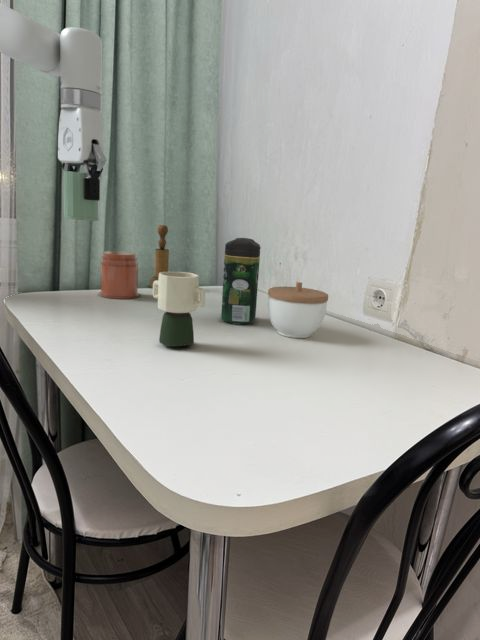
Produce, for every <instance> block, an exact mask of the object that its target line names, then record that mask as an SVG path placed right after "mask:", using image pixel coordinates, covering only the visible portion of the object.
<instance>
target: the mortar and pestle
mask: <svg viewBox="0 0 480 640" xmlns="http://www.w3.org/2000/svg"><path fill="white" fill-rule="evenodd" d="M156 231H157V234H158V237H159V240H158V241H157V242H158V248H155V249H154V276H152V277H151V278H150V279H149V287H150V288H151V289H153V282H154V281H156V280H157V281H158V280H159V273H161V272H169V260H170V259H169V258H170V257H169V256H170V255H169V254H170V249H168V248H166V244H167V240H166V236H167V234H168V232H169V228H168V226H167V225H166V224H159V225H158V226H157V230H156Z"/></svg>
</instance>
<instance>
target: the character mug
mask: <svg viewBox="0 0 480 640" xmlns="http://www.w3.org/2000/svg"><path fill="white" fill-rule="evenodd" d="M199 286H200V276H199V274H196V273H194V272H189V271H168V272H161V273H159V280H158V281H157V280H156V281H154V282H153V288H152V298H154V299H156V300H157V307H158V309H159V310H160V311H163V312H164V313H163V315H162V319H161V325H160V330H159V337H158V338H159V339H158V340H159V341H158V342H159V343H160V344H161V345H163V346H167V347H182V348H184V347H185V346H188V345H189V346H190V345H193V344H195V340H194V339H195V337H194V335H195V334H194V324H193V317H192V315H191V313H192V312H195V311H197V309H198V307H199V308H202V307H204V306H205V303H206V289H205V288H203V287H199Z"/></svg>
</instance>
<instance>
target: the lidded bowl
mask: <svg viewBox="0 0 480 640" xmlns="http://www.w3.org/2000/svg"><path fill="white" fill-rule="evenodd" d="M267 293H268V294H267V295H268V299H267V312H268V318H269V321H270V323H271V325H272V326H273V328H274V329H275V330H276V332H277V334H278V335H280V336H283V337H286V338H292V339H307V338H310V337H311V336H312V334H314V333H315V332H316V331H318V329H319V328H320V327H321V326H322V323H323V321H324V319H325V315H326V312H327V305H328V301H329V294H328V293H326V292H324V291H322V290H318V289H314V288H308V287H303V282H301V281H297V282H296V283H295V286H272V287H270V288H268V290H267Z"/></svg>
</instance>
